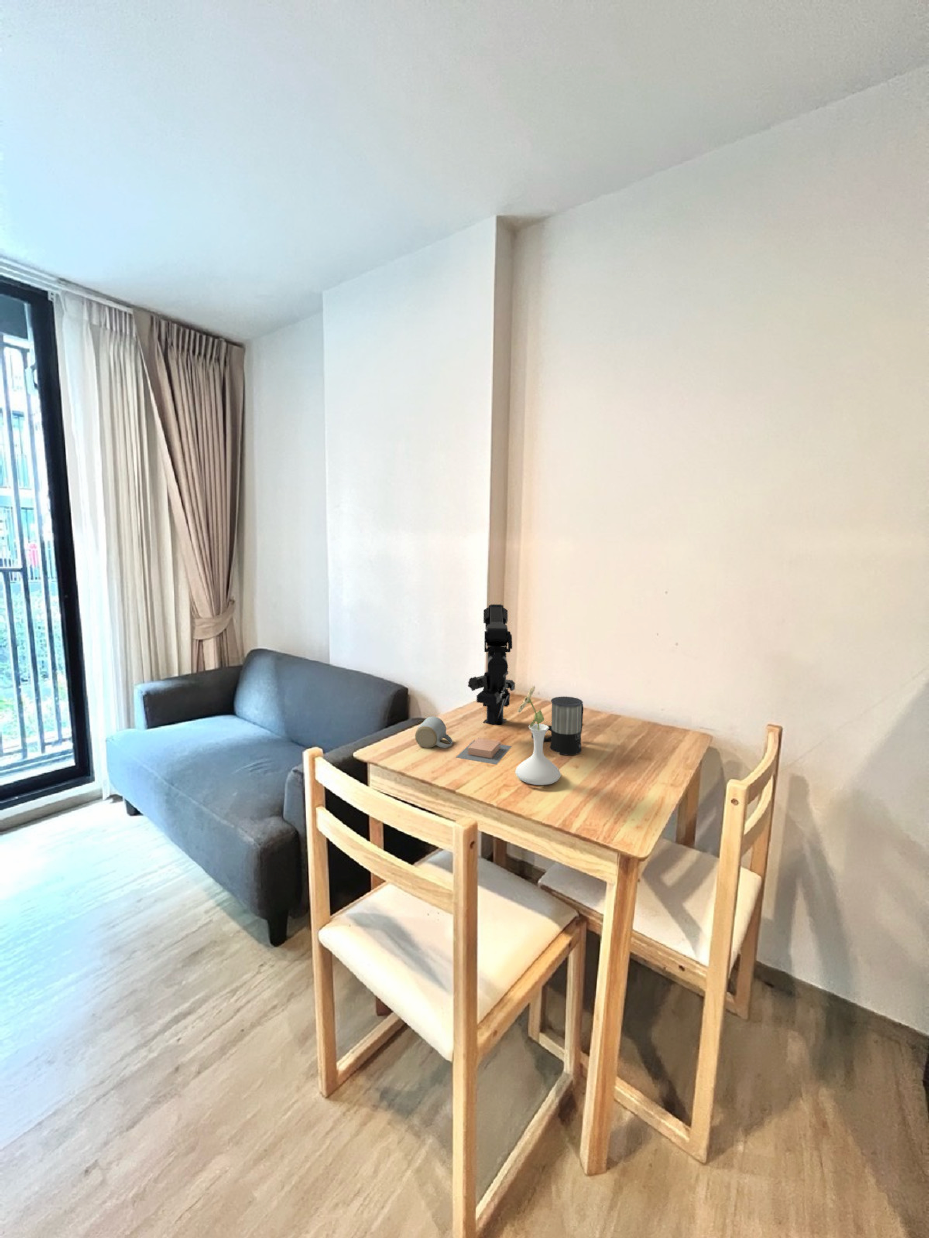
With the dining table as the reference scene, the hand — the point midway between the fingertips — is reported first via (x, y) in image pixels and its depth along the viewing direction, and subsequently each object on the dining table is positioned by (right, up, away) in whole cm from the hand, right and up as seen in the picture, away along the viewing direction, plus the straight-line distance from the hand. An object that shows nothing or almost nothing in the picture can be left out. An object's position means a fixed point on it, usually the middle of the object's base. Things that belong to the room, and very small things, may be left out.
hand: (496, 718), depth 150 cm
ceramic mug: (-19, -8, -3) cm, 20 cm away
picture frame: (-2, -6, -6) cm, 9 cm away
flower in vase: (+8, -11, -26) cm, 30 cm away
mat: (-4, -8, -9) cm, 13 cm away
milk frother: (+18, -8, -3) cm, 19 cm away
